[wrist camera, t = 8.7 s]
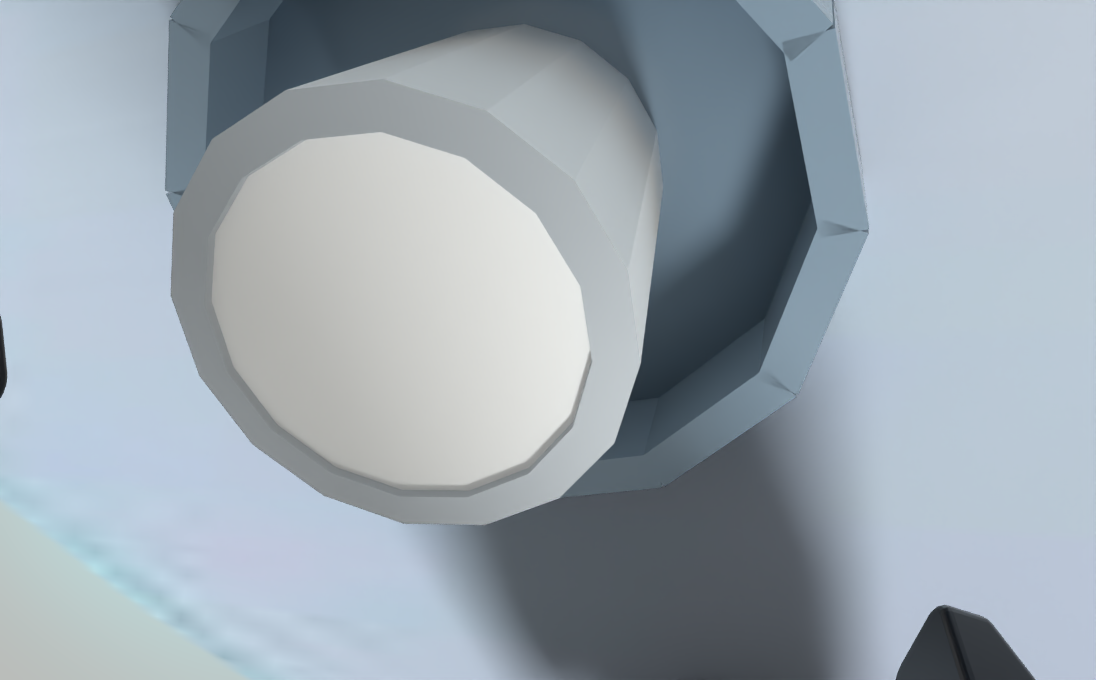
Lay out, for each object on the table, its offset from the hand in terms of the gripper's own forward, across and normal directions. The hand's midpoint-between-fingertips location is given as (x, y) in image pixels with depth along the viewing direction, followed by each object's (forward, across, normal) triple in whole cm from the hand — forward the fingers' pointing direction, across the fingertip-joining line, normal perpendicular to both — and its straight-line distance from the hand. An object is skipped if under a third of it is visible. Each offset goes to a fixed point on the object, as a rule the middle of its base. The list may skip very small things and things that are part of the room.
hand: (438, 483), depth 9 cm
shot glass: (+11, +2, +1) cm, 12 cm away
